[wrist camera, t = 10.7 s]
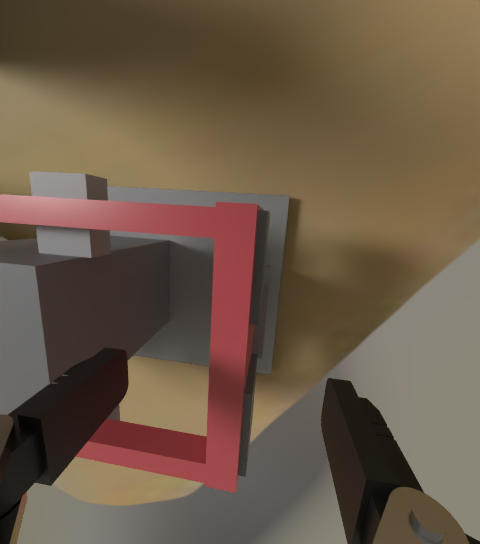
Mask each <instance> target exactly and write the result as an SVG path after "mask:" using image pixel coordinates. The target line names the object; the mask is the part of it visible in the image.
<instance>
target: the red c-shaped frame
mask: <svg viewBox="0 0 480 544" xmlns="http://www.w3.org/2000/svg"><path fill="white" fill-rule="evenodd" d="M269 220H270V212H269V211H264V209H263V208H261V207H260V206H259V205H258V204H249V203H232V202H216V207H207V206H190V205H173V204H156V203H139V202H122V201H105V200H88V199H71V198H54V197H37V196H20V195H3V194H0V222H5V223H18V224H32V225H45V226H58V227H72V228H85V229H98V230H111V231H125V232H138V233H151V234H164V235H178V236H191V237H204V238H214V262H213V288H212V314H211V340H210V366H209V392H208V418H207V437H205V436H200V435H194V434H189V433H183V432H178V431H172V430H167V429H161V428H156V427H150V426H145V425H139V424H134V423H128V422H123V421H117V420H112V419H106V420H105V421H104V422H103V424H102V425H101V426H100V427H99V428H98V430H97V431H96V432H95V433H94V435H93V436H92V437H91V438H90V439H89V441H88V442H87V443H86V444H85V445H84V447H83V448H82V449H81V450H80V451H79V453H78V454H77V455H76V457H81V458H86V459H91V460H95V461H100V462H105V463H110V464H115V465H120V466H125V467H129V468H134V469H139V470H144V471H149V472H154V473H158V474H163V475H168V476H173V477H178V478H183V479H188V480H192V481H197V482H202V483H205V486H206V487H211V488H216V489H221V490H226V491H231V492H236V487H237V481H238V475H240V476H246V469H247V468H246V467H247V460H248V451H249V443H250V434H251V426H252V415H253V404H254V392H255V381H256V369H257V358H258V354H252V347H253V335H254V325H259V319H260V313H261V306H262V300H263V289H264V277H265V266H266V254H267V243H268V231H269Z"/></svg>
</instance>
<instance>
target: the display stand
mask: <svg viewBox="0 0 480 544" xmlns="http://www.w3.org/2000/svg"><path fill="white" fill-rule="evenodd" d="M29 175H30V183H31V191H32V196H37V197H54V198H71V199H88V200H105V201H122V202H139V203H156V204H173V205H190V206H207V207H216V202H232V203H249V204H258V205H259V206H260V207H261V208H263V209H264V211H269V212H270V220H269V231H268V243H267V254H266V266H265V277H264V289H263V300H262V306H261V313H260V319H259V325H254V335H253V347H252V354H258V358H257V369H256V373H259V374H266V375H271V370H272V361H273V351H274V341H275V332H276V322H277V312H278V303H279V293H280V284H281V274H282V264H283V255H284V245H285V235H286V226H287V216H288V207H289V197H290V196H285V195H265V194H246V193H227V192H208V191H189V190H170V189H151V188H131V187H112V186H107V179H104V178H100V177H96V176H92V175H88V174H78V173H56V172H34V171H29ZM36 233H37V238H33V239H20V240H7V241H0V414H4V415H8V414H9V413H11V412H12V411H13V410H15V409H16V408H17V407H19V406H20V405H21V404H23V403H24V402H25V401H27V400H28V399H29V398H31V397H32V396H33V395H35V394H36V393H37V392H39V391H40V390H42V389H43V388H44V387H46V386H47V385H48V384H51V383H52V381H54V380H55V379H56V378H58V377H59V376H62V374H63V373H64V372H66V371H67V370H69V369H70V368H71V367H73V366H74V365H76V364H78V363H80V362H82V361H84V360H87V359H89V358H92V357H93V356H94V355H95V354H97V353H98V352H99V351H101V350H102V349H103V348H106V347H108V348H115V349H123V350H125V351H126V353H127V361H128V360H129V359H130V358H131V357H132V356H133V355H135V356H142V357H149V358H156V359H163V360H170V361H177V362H184V363H190V364H197V365H204V366H210V340H211V314H212V288H213V262H214V238H204V237H191V236H178V235H164V234H151V233H138V232H125V231H111V230H98V229H85V228H72V227H58V226H45V225H36ZM107 419H112V420H117V421H120V412H119V404H118V406H117V407H116V408H115V409H114V410H113V412H112V413H111V414H110V415H109V416H108V418H107Z"/></svg>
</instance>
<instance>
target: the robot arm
mask: <svg viewBox="0 0 480 544" xmlns="http://www.w3.org/2000/svg"><path fill="white" fill-rule="evenodd" d="M127 389H128V363H127V353H126V351H125V350H123V349H115V348H108V347H106V348H103V349H102V350H101V351H99V352H98V353H97V354H95V355H94V356H93V357H92V358H89V359H87V360H84V361H82V362H80V363H78V364H76V365H74V366H73V367H71V368H70V369H69V370H67V371H66V372H64V373H63V374H62V376H59V377H58V378H56V379H55V380H54V381H52V383H51V384H48V385H47V386H46V387H44V388H43V389H42V390H40V391H39V392H37V393H36V394H35V395H33V396H32V397H31V398H29V399H28V400H27V401H25V402H24V403H23V404H21V405H20V406H19V407H17V408H16V409H15V410H13V411H12V412H11V413H9V414H8V415H4V414H0V544H16V543H17V539H18V535H19V531H20V527H21V523H22V518H23V515H24V510H25V506H26V502H27V491H28V490H29V488H30V487H31V486H32V485H33V484H34V483H40V484H45V485H50V486H51V485H52V484H53V483H54V482H55V480H56V479H57V478H58V477H59V475H60V474H61V473H62V472H63V471H64V469H65V468H66V467H67V466H68V465H69V463H70V462H71V461H72V460H73V459H74V457H75V456H76V455H77V454H78V453H79V451H80V450H81V449H82V448H83V447H84V445H85V444H86V443H87V442H88V441H89V439H90V438H91V437H92V436H93V435H94V433H95V432H96V431H97V430H98V428H99V427H100V426H101V425H102V424H103V422H104V421H105V420H106V419H107V418H108V416H109V415H110V414H111V413H112V412H113V410H114V409H115V408H116V407H117V406H118V404H119V403H120V402H121V401H122V399H123V398H124V396H125V394H126V392H127ZM321 426H322V433H323V438H324V442H325V446H326V451H327V455H328V460H329V464H330V468H331V473H332V477H333V482H334V486H335V490H336V494H337V499H338V504H339V508H340V512H341V517H342V521H343V526H344V530H345V534H346V539H347V543H348V544H480V541H478V540H476V539H474V538H472V537H470V536H468V535H467V534H465V533H464V531H463V530H462V528H461V526H460V525H459V524H458V522H457V521H456V520H455V519H454V517H453V516H452V515H451V514H450V513H449V512H448V511H447V510H446V509H445V508H444V507H443V506H442V505H441V504H439V503H438V502H437V501H436V500H434V499H433V498H432V497H430V496H428V495H427V494H425V493H424V492H423V490H422V488H421V486H420V484H419V483H418V481H417V479H416V477H415V475H414V473H413V472H412V470H411V468H410V466H409V464H408V462H407V461H406V459H405V457H404V455H403V453H402V451H401V450H400V448H399V446H398V444H397V442H396V441H395V440H394V437H393V435H392V433H391V431H390V430H389V428H387V424H386V422H385V420H384V419H383V417H382V415H381V413H380V411H379V410H378V409H377V408H376V407H375V406H374V405H373V404H372V403H371V402H370V401H369V400H368V399H366V398H360V397H358V395H357V393H356V391H355V389H354V387H353V385H352V383H351V381H346V380H338V379H332V378H328V380H327V384H326V389H325V395H324V402H323V408H322V416H321Z"/></svg>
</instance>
